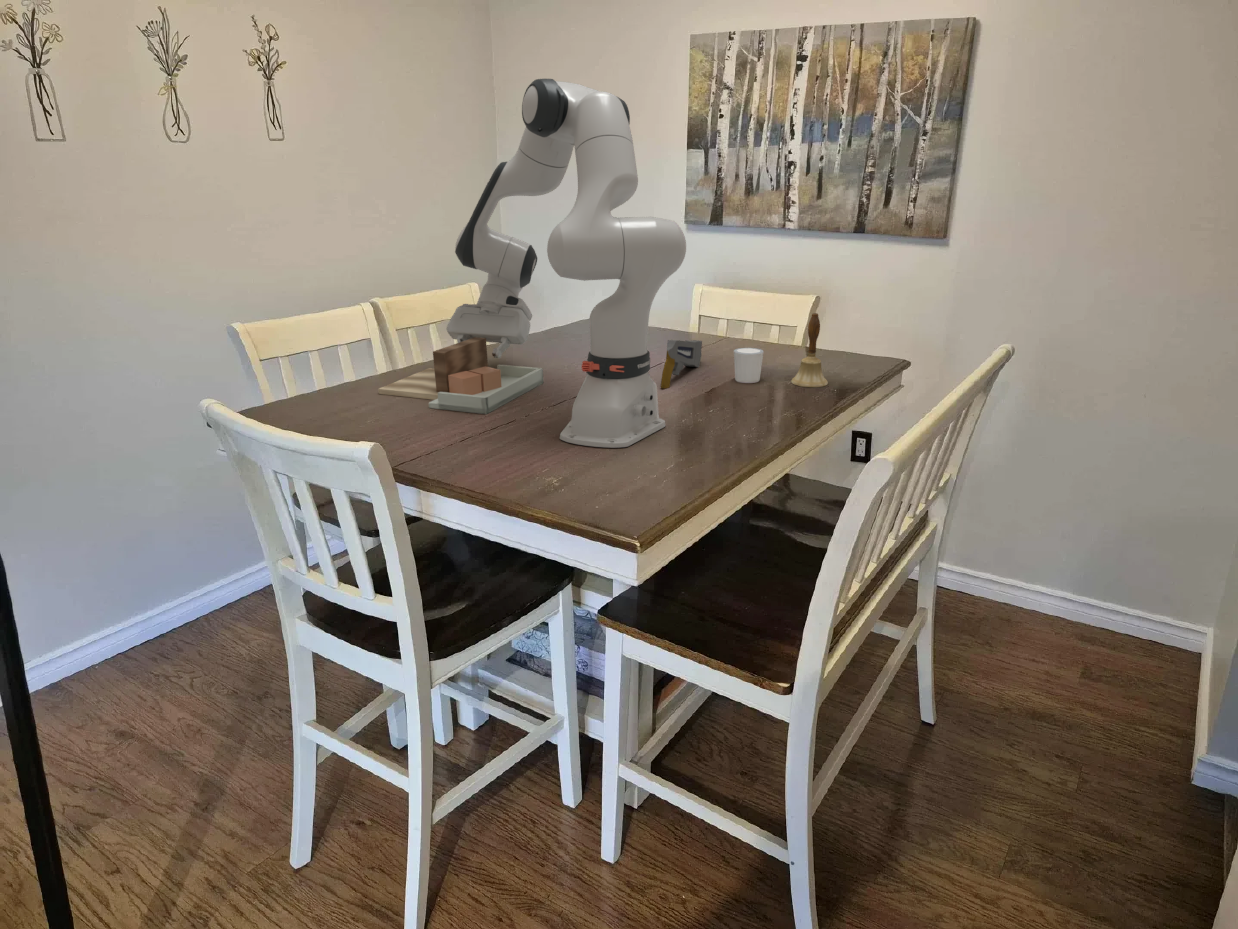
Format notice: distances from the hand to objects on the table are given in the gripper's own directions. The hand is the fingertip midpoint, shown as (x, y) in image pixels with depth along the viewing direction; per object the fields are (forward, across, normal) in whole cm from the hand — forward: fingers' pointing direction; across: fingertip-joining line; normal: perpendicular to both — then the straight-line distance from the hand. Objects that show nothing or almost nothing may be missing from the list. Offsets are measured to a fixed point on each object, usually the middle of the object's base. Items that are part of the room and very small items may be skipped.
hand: (478, 355), depth 193 cm
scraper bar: (+8, 0, -1) cm, 8 cm away
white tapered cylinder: (-11, +59, +20) cm, 63 cm away
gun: (-10, +43, +20) cm, 48 cm away
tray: (+11, +8, -2) cm, 13 cm away
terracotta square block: (+9, +6, -2) cm, 11 cm away
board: (+9, -8, 0) cm, 12 cm away
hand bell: (-12, +73, +21) cm, 77 cm away
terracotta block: (+13, +4, -5) cm, 14 cm away
